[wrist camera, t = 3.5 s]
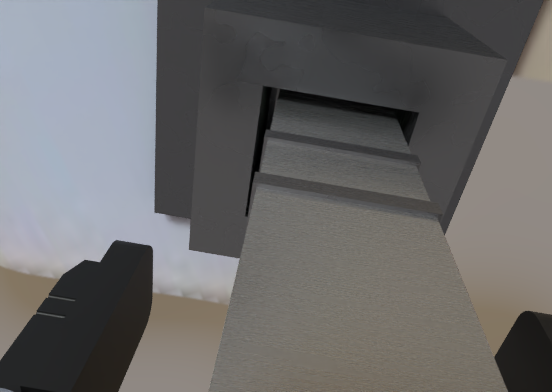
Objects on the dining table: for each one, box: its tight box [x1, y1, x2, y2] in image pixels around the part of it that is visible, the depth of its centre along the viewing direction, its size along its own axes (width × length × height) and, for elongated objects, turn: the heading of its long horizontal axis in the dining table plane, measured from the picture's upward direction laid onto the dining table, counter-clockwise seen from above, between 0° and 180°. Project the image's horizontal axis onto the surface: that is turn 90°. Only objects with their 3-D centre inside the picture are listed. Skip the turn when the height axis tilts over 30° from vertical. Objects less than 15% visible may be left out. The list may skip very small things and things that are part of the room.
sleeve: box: [155, 0, 543, 258], centre depth 19 cm, size 16×16×8 cm
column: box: [209, 88, 508, 392], centre depth 14 cm, size 4×4×18 cm
